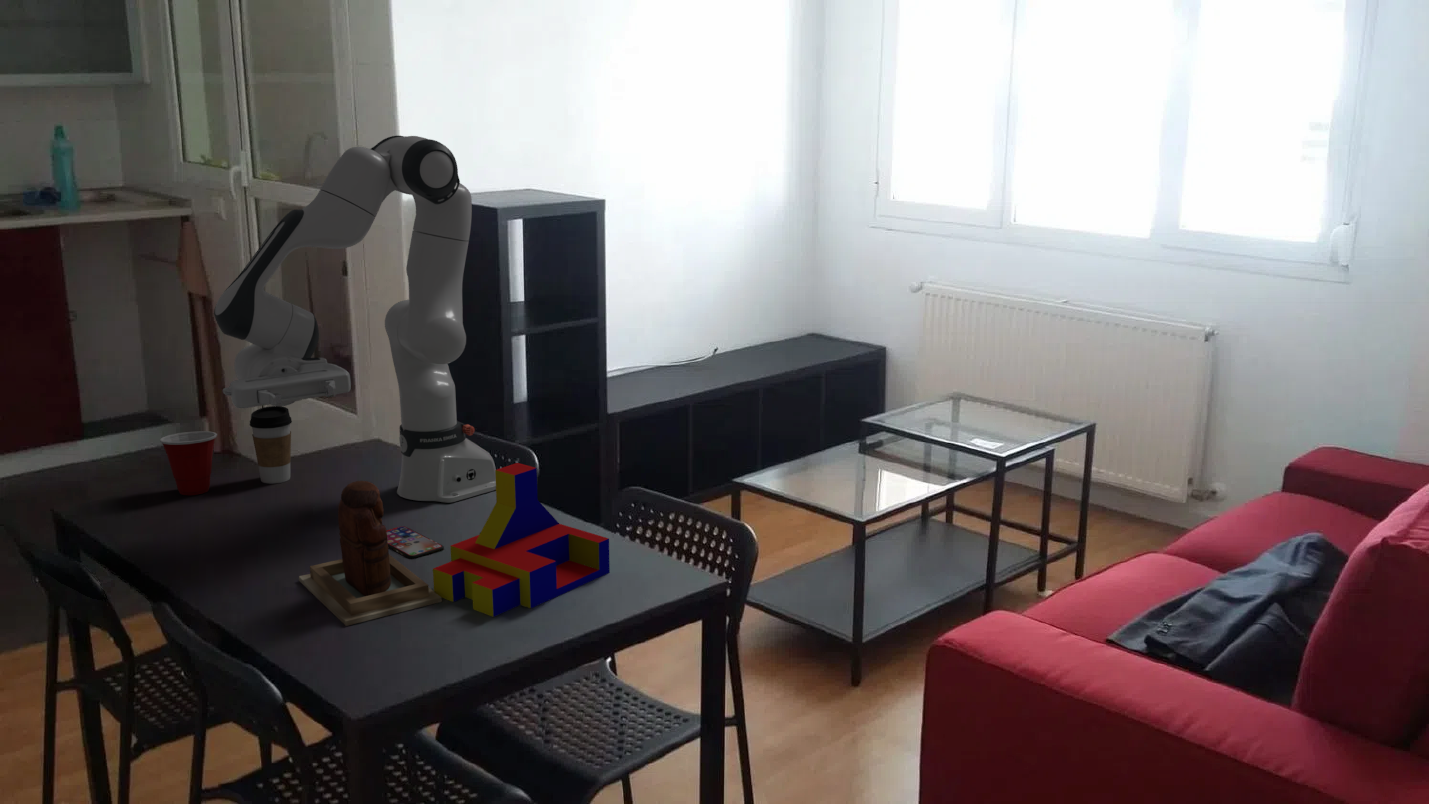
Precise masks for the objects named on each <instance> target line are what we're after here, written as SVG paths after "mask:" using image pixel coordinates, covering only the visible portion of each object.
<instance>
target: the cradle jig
mask: <svg viewBox="0 0 1429 804" xmlns="http://www.w3.org/2000/svg"><path fill="white" fill-rule="evenodd" d="M389 562H390V576H391V585H390V587H389V589H387V590H386V591H385V592H381V593H377V594H373V595H369V596H364V595H363V594H361V593H360V592H359V591H358V590H356V589H355V588H354V587H353V586H351V585H350V584H348V583H347V581H346V579H345V573H344V567H343V561H342V558H341V559H336V560H331V561H327V562H323V563H318V564H315V565H310V566H309V571H310V572H309V573H307V574H303V575H299V576H298V581H299V582H300V584H302V585H303V586H304V587H305V588H306V589H307V590H308V591H309V593H311V594H313V596H314V597H315V598H316V599H317V600H319V602H320V603H322V604H323V605H324V606H325V607H326V608H327V609H328V611H330V612H331V613H332V614H333V616H335V617H336V618H337V619H338V620H339V621H340V622H341V623H342V624H343V625H344V626H345V627H347V626H351V625H355V624H360V623H364V622H369V621H371V620H375V619H378V618H379V619H380V618H383V617H387V616H391V615H395V614H399V613H404V612H407V611H410V610H415V609H418V608H422V607H423V608H424V607H426V606H431V605H434V604H439V603H442V598H441V597H440V596H439V595H438V594H437V593H435V592H434V589H431V587H429V584H428V583H427V582H425V581H424V580H423V579H421V578H420V577H418V576H417V575H416V574H415V573H414V572H413V571H411V570H410V569H409V568H407V567H406V566H405V565H404V564H402V563H401V562H400V561H399V560H397V559H396V558H395V557H394V556H392V555H391V554H389Z"/></svg>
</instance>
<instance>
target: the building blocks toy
mask: <svg viewBox="0 0 1429 804" xmlns="http://www.w3.org/2000/svg"><path fill="white" fill-rule="evenodd" d="M495 478H496V490H495V496H496V499H495V501H496V503H495V505H494V506H493V508H492V510H491V512H490V513H489V515H488V518H487V519H486V521H485V523H484V525H483V527H482V529H481V531H480V533H479V534H477V535H475V536H471V537H470V538H467V539H465V540H464V539H463V540H461V541H459V542H457V543H453V544H451V545H449V547H450V548H449V549H450V561H448V562H446V563H443V564H441V565H439V566H436V567H434V568H432V576H433V577H432V578H433V580H432V581H433V582H432V583H433V591H434V592H435V593H437V594H438V595H439V596H440V597H441V599H445V600H447V601H450V602H453V603H454V602H457V601H459V600H461V599H464V598H467V599H469V600H472V609H473V610H474V611H477V612H479V613H482V614H485V615H487V616H489V617H492V618H495V617H496V616H499V615H501V614H503V613H505V612H508V611H510V610H512V609H515V608H517V607H519V606H522V607H526V608H528V609H533V608H535V607H537V606H540V605H541V604H544V603H545V602H548V601H550V600H553V599H554V598H557V597H559V596H562V595H564V594H566V593H567V592H570V591H572V590H575V589H577V588H579V587H582V586H583V585H585V584H588V583H590V582H592V581H594V580H596V579H598V578H601V577H603V576H605V575H607V574H609V573H610V570H611V569H610V538H609V537H606V536H601V535H598V534H595V533H592V532H588V531H586V530H581V529H578V528H575V527H572V526H568V525H565V524H561V523H559V521H558V520H557V519H556V518H555V517H554V515H552V514H551V513H550V511H549V510H548V509H547V508H546V507H545V506H544V505H543V504H542V503H541V502H540V501H539V500H538V469H537V467H534V466H531V465H526V464H523V463H519V462H516V463H513V464H510V465H507V466H503V467H499V468H497V469H496V470H495Z"/></svg>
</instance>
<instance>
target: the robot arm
mask: <svg viewBox="0 0 1429 804" xmlns="http://www.w3.org/2000/svg"><path fill="white" fill-rule="evenodd" d="M457 163H458V162H457V161H456V158H455V156H454V154H453V152H452V151H451V150H450V149H449V148H448V147H447V146H446V145H444V144H443V143H441V142H440V141H438V140H434V139H431V138H430V139H428V138H426V137H422V136H418V135H408V136H404V135H392V136H388V137H385V138H384V139H382V140H381V141H379V142H377V143H376V145H374V146H372V147H371V148H368V147H364V146H353V147H350V148H348V149H347V150H345V151H344V152H343V154H341V155H340V157H339V159H338V160H337V161H336V163H335V164H334V165H333V167H332V168H331V169H330V171H329V173H328V175H327V176H326V178H325V179H324V181H323V183H322V185H321V187H320V189H319V191H318V193H317V194H316V196H315V197H314V199H313V200H312V201H311V202H310V203H309V204H307V205H306V206H304V207H303V208H300V209H299V208H298V209H292V210H290V211H289V212H288V213H286V214H285V216H283V217H282V218H281V220H280V221H278V223H277V224H276V225H275V227H274V228H273V230H271V232H270V233H269V234H268V236H267V237H266V238H265V239H264V241H263V242H262V244H261V245H260V247H259V248H258V249H257V250H256V252H255V253H254V255H253V256H252V257H251V258H250V260H249V261H248V263H247V264H246V265H245V267H244V268H243V269H242V271H241V272H240V273H239V274H238V276H237V277H236V278H235V279H234V280H233V281H232V282H231V283H230V285H229V286H228V287H227V288H226V289H225V290H224V291H223V292H222V294H221V295H220V297H219V298H218V299H217V302H216V305H215V307H214V311H213V315H214V318H215V321H216V324H217V327H219V330H220V331H221V332H222V334H224V335H226V336H229V337H233V338H235V339H238V340H242V341H246V342H248V343H250V345H248V346H244V348H242V349H241V350H239V352H238V353H237V354H236V356H235V359H234V372H235V375H236V377H237V379H236V380H232V381H231V382H230V383H229V385H228V387H224V388H223V389H222V393H223V394H224V395H225V396H228V397H230V398H231V399H230V400H231V402H232V404H233V406H234V407H235V408H237V409H247V408H248V409H249V408H254V407H261V406H267V405H269V406H270V405H271V406H282V407H287V406H290V405H292V404H294V403H296V402H300V401H302V400H306V399H314V398H319V397H320V398H321V397H326V398H332V397H337V395H340V394H347V393H349V392H351V390H352V389H351V388H352V387H351V385H352V383H351V374H350V373H349V372H348V371H347V369H345V368H343V367H341V366H339V365H337V364H334V363H329V362H328V360H327V359H326V358H325V357H312V356H313V355H314V353H315V351H316V348H317V346H318V343H319V340H320V331H319V329H320V328H319V324H318V320H317V317H316V316H315V315H314V313H313V312H310V311H309V310H307V309H305V308H302V307H300V306H299V305H296V304H293V302H288V301H286V300H284V299H282V298H280V297H278V296H276V295H273V294H271V293H269V292H267V291H266V290H265V286H266V285H267V283H268V282H269V281H270V279H271V278H272V277H273V276H274V274H275V272H276V271H277V270H278V268H280V266H281V264H282V263H283V262H284V261H285V259H286V258H287V256H288V255H290V254H291V253H292V252H294V251H295V250H297V249H301V248H320V249H322V248H323V249H330V250H332V249H333V250H336V249H337V250H341V249H348V248H351V247H353V246H356V245H358V244H359V243H361V242H362V241H363V240H364V238H365V237H366V236H367V234H368V233H369V231H370V229H371V227H372V225H373V224H374V221H375V219H376V217H377V215H378V213H379V211H380V208H381V207H382V204H383V202H384V201H385V199H386V198H387V197H388V196H389V195H390V194H392V193H393V192H395V191H397V192H399V193H402V194H406V195H410V196H412V197H413V200H414V204H415V217H414V221H413V227H412V233H411V238H410V245H409V249H408V255H407V261H406V266H405V267H406V268H405V269H406V270H405V271H406V275H407V280H408V281H407V282H408V299H405V300H400V301H398V302H396V303H394V304H393V305H392V306H391V307H390V308H389V309H388V310H387V312H386V315H385V319H384V328H385V331H386V335H387V338H388V341H389V346H390V352H391V358H392V362H393V367H394V371H395V374H396V380H397V385H398V392H399V406H400V408H399V409H400V410H399V411H400V422H401V423H400V425H399V437H398V438H399V447H400V449H399V450H400V453H401V466H400V467H401V468H400V469H401V470H400V475H399V483H398V487H397V490H396V494H397V495H398V496H399V497H401V498H404V499H407V500H411V501H412V500H413V501H419V502H420V501H421V502H439V503H440V502H441V503H447V504H448V503H455V502H458V501H462V500H466V499H469V498H472V497H475V496H479V495H482V494H485V493H489V492H493V491H496V478H495V470H497V469H496V465H495V461H494V459H493V456H491V453H489V452H488V451H487V450H485V449H484V448H482V447H481V446H479V445H478V444H477V443H475V442H473V441H472V440H470V439H469V438H467V437H466V435H467V436H473V435H474V433H475V431H476V430H475V427H474V426H473V425H470V424H468V423H467V424H465V423H463V422H460V421H458V420H457V418H458V417H457V400H456V385H455V381H454V380H453V377H452V374H451V371H450V367H449V364H450V363H453V362H454V361H456V360H457V359H459V357H460V356H461V355H462V354H463V352H464V351H465V348H466V345H467V334H466V330H465V327H464V323H463V322H464V319H463V315H464V314H463V282H464V281H463V280H464V274H465V273H464V271H465V265H466V259H467V253H468V248H469V247H468V246H469V243H470V242H469V241H470V235H471V228H472V214H473V212H472V210H473V208H472V207H473V206H472V204H473V203H472V200H473V199H472V195H471V192H470V191H469V189H468V188H467V187H466V186H465V185H463V184H462V183H461V181H460V177H459V170H458V169H459V168H458V164H457Z"/></svg>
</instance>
